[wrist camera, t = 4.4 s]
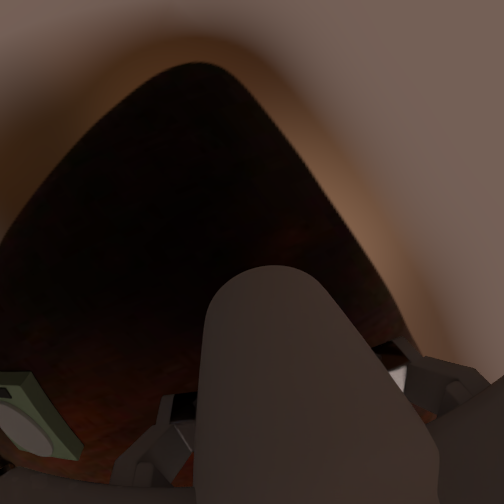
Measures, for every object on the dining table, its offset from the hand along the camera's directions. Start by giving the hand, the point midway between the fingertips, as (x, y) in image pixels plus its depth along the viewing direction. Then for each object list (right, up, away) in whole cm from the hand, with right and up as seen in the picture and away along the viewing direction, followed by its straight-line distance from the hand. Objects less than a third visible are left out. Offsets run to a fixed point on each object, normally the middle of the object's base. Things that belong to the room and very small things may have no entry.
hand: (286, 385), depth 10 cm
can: (0, +1, +5) cm, 5 cm away
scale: (-27, -13, +11) cm, 32 cm away
